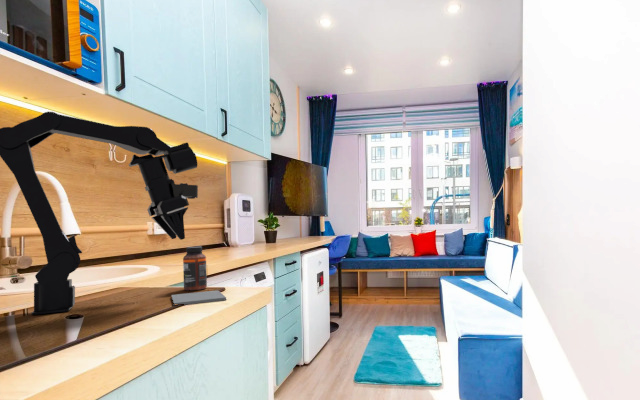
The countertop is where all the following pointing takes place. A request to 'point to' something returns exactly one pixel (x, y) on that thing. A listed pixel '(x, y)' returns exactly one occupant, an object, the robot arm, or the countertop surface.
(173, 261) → the countertop surface
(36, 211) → the robot arm
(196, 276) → the supplement bottle
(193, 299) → the charcoal mat
